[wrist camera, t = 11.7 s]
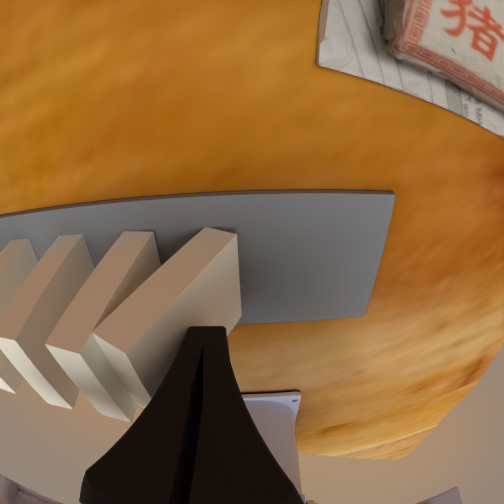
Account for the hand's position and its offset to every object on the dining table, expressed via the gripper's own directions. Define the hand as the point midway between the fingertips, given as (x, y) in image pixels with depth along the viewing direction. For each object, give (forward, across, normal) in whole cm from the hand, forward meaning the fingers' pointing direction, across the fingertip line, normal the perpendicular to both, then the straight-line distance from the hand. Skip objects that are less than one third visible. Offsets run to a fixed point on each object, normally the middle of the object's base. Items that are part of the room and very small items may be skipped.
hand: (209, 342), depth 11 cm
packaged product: (+6, -14, -13) cm, 20 cm away
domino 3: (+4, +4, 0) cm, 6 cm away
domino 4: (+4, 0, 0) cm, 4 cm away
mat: (+5, +6, 0) cm, 7 cm away
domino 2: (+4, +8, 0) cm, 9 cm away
